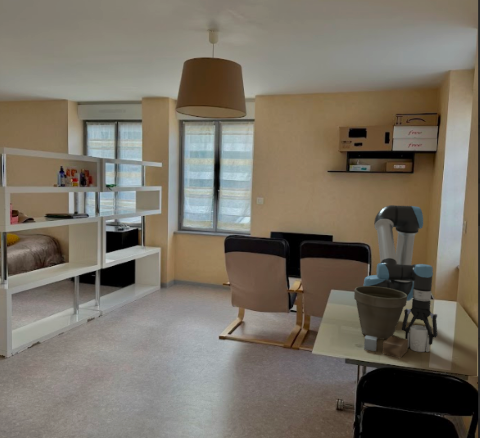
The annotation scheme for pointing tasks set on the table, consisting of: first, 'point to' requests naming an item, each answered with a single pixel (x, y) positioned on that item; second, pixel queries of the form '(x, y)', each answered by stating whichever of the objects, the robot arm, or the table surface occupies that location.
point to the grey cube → (370, 343)
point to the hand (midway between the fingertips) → (418, 348)
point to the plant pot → (379, 310)
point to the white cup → (418, 338)
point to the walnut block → (395, 346)
